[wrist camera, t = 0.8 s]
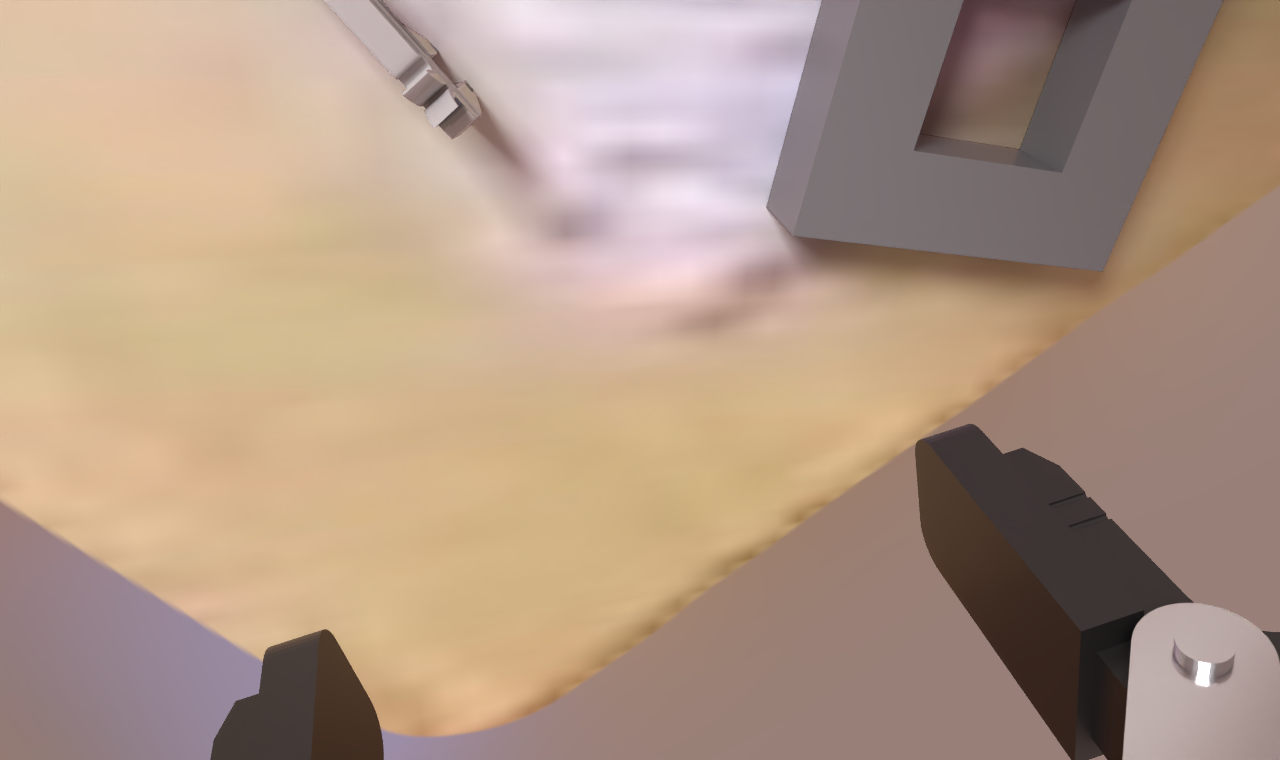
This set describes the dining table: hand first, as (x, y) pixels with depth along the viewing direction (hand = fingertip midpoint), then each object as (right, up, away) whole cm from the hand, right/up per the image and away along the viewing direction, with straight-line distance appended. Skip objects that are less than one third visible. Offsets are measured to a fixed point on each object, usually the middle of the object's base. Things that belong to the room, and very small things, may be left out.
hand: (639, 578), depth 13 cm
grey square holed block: (+13, +15, +25) cm, 32 cm away
